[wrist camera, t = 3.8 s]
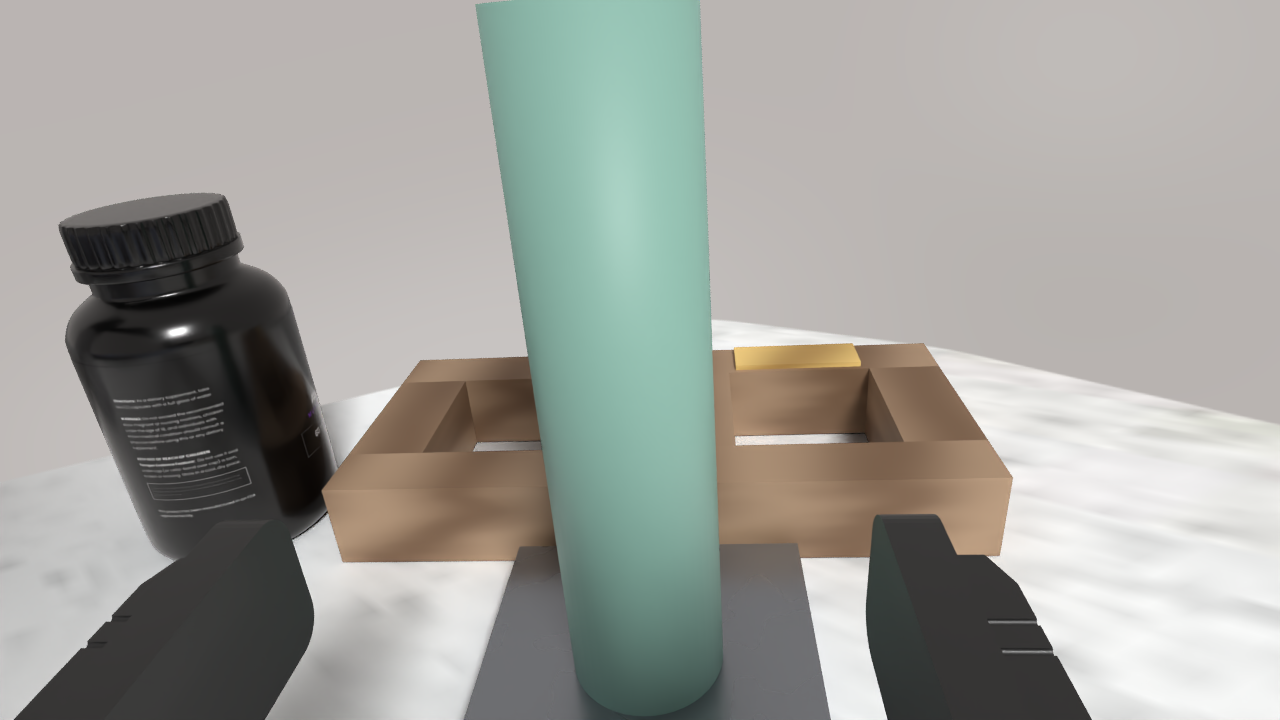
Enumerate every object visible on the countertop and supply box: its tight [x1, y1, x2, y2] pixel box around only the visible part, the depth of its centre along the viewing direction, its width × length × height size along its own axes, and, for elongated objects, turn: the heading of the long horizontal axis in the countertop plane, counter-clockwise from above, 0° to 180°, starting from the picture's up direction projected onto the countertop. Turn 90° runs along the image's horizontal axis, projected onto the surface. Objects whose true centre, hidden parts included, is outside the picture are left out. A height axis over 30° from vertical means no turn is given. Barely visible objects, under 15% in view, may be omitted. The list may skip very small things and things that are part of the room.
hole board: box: [322, 343, 1013, 562], centre depth 29 cm, size 22×10×3 cm, turn 86°
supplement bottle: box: [59, 193, 338, 561], centre depth 27 cm, size 7×7×12 cm
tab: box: [464, 543, 831, 720], centre depth 21 cm, size 9×9×1 cm
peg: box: [476, 0, 723, 716], centre depth 17 cm, size 4×4×16 cm
